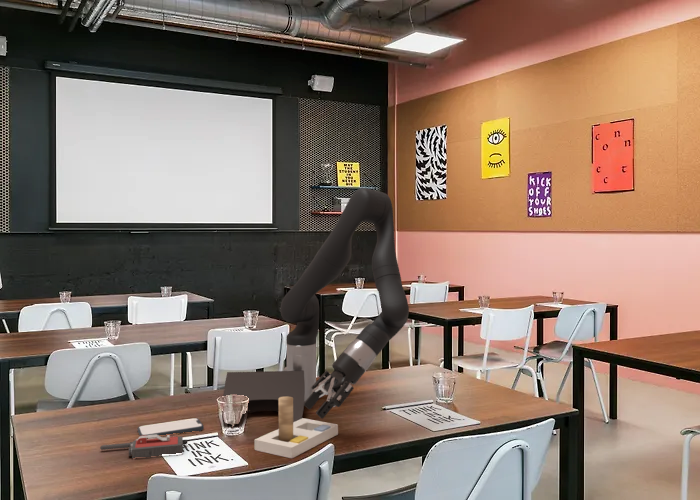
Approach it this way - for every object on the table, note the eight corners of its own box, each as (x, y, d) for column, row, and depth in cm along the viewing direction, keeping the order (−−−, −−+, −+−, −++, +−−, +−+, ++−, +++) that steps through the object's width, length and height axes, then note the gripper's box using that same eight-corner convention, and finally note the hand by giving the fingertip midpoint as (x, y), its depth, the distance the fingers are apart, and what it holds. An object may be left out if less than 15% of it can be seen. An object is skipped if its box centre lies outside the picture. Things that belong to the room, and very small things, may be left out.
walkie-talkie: (187, 444, 154) (100, 451, 149) (187, 426, 154) (100, 433, 149) (188, 456, 146) (96, 464, 140) (187, 437, 145) (96, 445, 140)
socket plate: (291, 458, 143) (291, 445, 143) (254, 449, 149) (254, 437, 149) (338, 434, 160) (338, 423, 160) (302, 427, 166) (302, 416, 166)
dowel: (275, 448, 149) (275, 399, 149) (284, 444, 152) (284, 395, 152) (287, 451, 148) (287, 401, 147) (296, 446, 151) (296, 397, 150)
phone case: (140, 442, 156) (204, 432, 163) (140, 435, 156) (204, 426, 163) (136, 432, 164) (198, 423, 171) (136, 426, 164) (197, 417, 171)
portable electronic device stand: (219, 447, 168) (217, 421, 164) (228, 390, 188) (226, 366, 184) (305, 445, 170) (305, 419, 166) (304, 388, 190) (304, 364, 186)
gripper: (333, 346, 163) (292, 395, 158) (357, 356, 150) (312, 409, 145) (352, 365, 165) (312, 413, 161) (376, 376, 152) (333, 429, 148)
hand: (312, 411), depth 153 cm, fingers open, 8 cm apart
